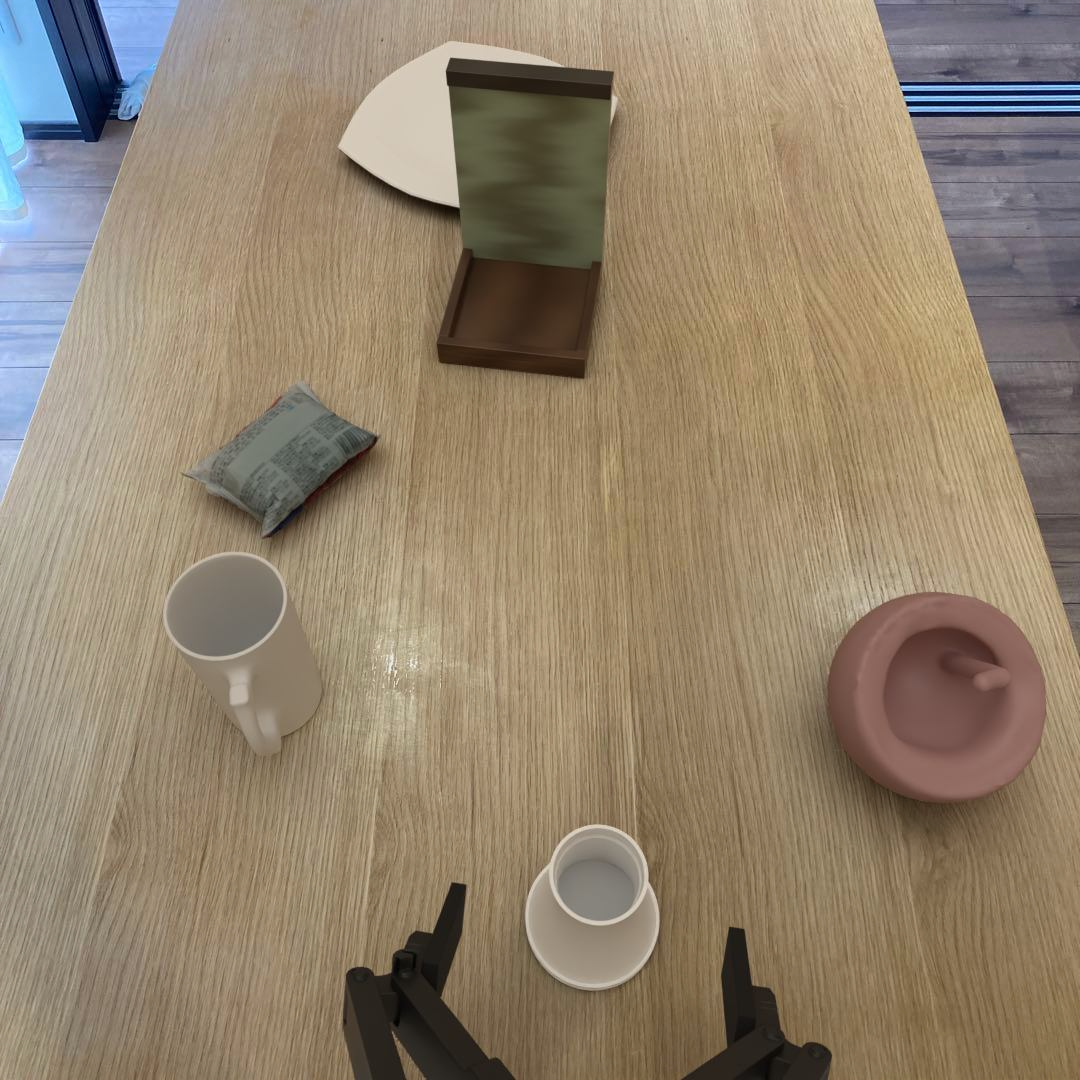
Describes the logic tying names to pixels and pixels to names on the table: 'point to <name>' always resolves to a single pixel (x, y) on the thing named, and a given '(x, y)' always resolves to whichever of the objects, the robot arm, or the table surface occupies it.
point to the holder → (527, 214)
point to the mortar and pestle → (938, 697)
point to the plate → (419, 123)
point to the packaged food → (284, 458)
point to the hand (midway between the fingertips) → (593, 929)
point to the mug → (245, 645)
